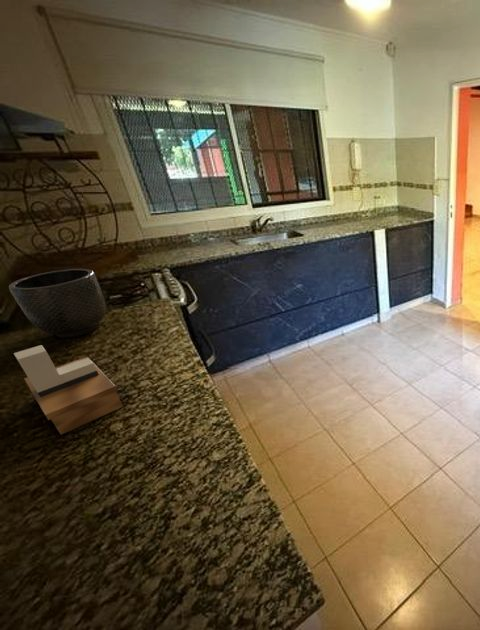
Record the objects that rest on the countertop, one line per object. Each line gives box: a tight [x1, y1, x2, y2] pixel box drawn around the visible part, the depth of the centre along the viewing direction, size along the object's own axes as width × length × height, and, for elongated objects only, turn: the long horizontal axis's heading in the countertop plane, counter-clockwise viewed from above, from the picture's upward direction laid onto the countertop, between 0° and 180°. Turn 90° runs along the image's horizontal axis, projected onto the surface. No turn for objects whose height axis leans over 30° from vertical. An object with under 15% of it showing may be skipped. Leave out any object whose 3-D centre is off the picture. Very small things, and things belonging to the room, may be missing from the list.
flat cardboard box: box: [23, 356, 124, 435], centre depth 83 cm, size 12×22×6 cm, turn 54°
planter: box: [8, 268, 107, 339], centre depth 114 cm, size 20×20×19 cm
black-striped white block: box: [13, 344, 99, 397], centre depth 80 cm, size 10×5×10 cm, turn 144°
